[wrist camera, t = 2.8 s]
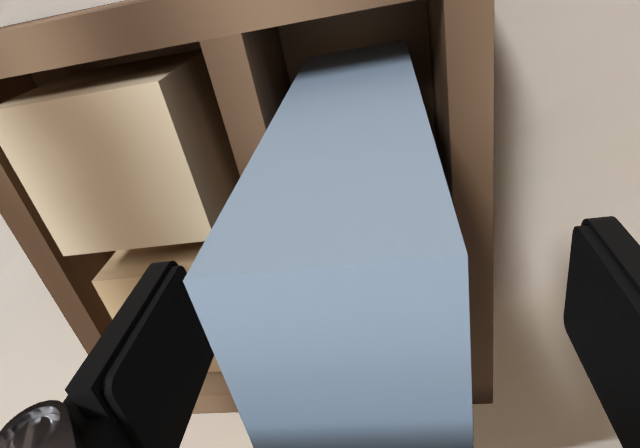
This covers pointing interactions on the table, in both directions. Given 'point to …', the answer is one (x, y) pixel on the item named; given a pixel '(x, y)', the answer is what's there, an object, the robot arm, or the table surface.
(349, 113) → the panel
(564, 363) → the table surface
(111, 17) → the rack
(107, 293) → the offcut
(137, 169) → the offcut
